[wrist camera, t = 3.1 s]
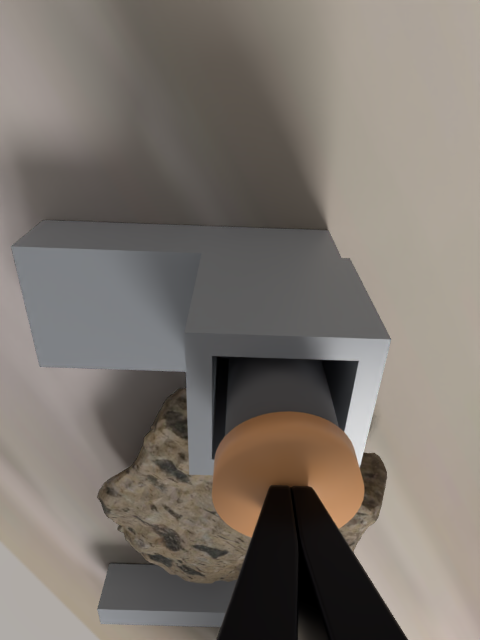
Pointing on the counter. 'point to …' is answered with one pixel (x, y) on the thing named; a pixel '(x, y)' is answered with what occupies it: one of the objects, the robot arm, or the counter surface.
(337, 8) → the counter surface
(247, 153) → the counter surface
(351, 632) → the robot arm
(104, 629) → the counter surface
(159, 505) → the rock
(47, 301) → the bay
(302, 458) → the plunger
